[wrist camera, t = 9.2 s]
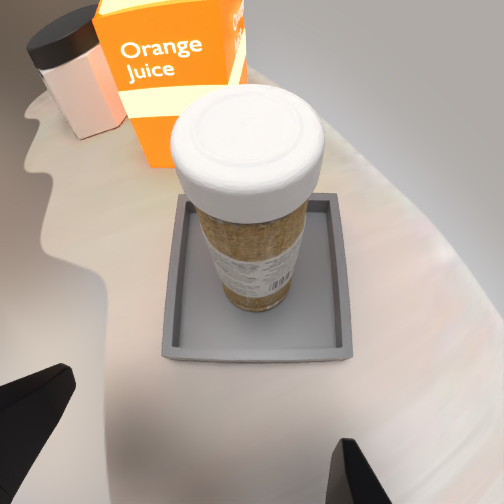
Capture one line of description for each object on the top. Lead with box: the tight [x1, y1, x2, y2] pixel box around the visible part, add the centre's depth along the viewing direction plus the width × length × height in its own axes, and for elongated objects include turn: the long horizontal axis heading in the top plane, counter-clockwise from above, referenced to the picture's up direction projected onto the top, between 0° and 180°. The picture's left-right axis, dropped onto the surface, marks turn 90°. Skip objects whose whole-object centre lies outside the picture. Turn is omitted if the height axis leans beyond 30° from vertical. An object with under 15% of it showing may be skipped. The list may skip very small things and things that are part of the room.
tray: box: [161, 193, 353, 363], centre depth 20 cm, size 11×11×2 cm
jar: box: [26, 4, 127, 139], centre depth 24 cm, size 9×8×12 cm
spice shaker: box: [170, 84, 325, 312], centre depth 15 cm, size 5×5×14 cm
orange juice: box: [92, 0, 247, 168], centre depth 18 cm, size 8×9×20 cm
